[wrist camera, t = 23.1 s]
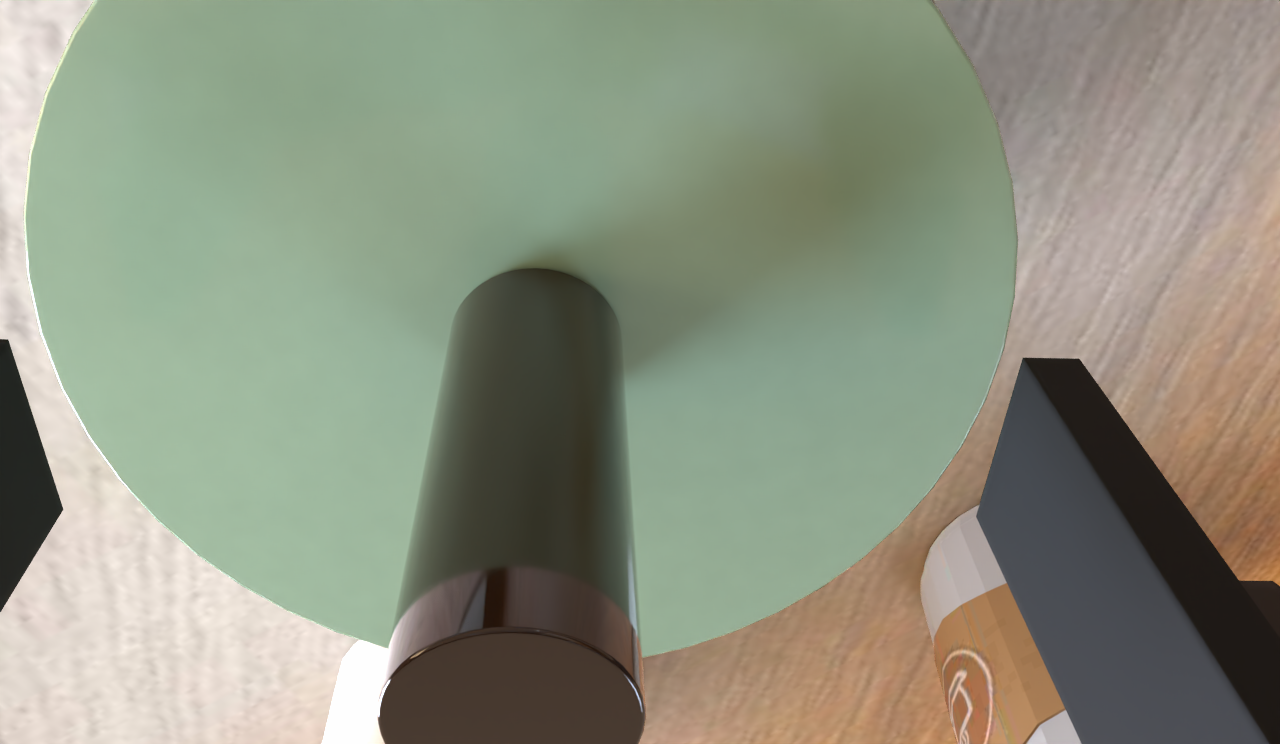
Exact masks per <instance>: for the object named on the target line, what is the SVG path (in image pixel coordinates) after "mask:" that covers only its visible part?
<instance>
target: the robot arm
mask: <svg viewBox="0 0 1280 744" xmlns="http://www.w3.org/2000/svg"><path fill="white" fill-rule="evenodd" d="M62 511H63V507H62V504H61V501H60V498H59V495H58V492H57V489H56V486H55V483H54V479H53V476H52V473H51V470H50V467H49V464H48V461H47V458H46V455H45V452H44V449H43V446H42V442H41V439H40V436H39V433H38V430H37V427H36V424H35V421H34V418H33V415H32V412H31V409H30V406H29V402H28V399H27V396H26V393H25V390H24V387H23V384H22V381H21V378H20V375H19V372H18V369H17V366H16V362H15V359H14V356H13V353H12V350H11V347H10V344H9V341H8V340H5V339H0V612H1V610H2V609H3V607H4V605H5V604H6V602H7V601H8V599H9V597H10V596H11V594H12V592H13V591H14V589H15V587H16V586H17V584H18V583H19V581H20V579H21V578H22V576H23V574H24V573H25V571H26V570H27V568H28V566H29V565H30V563H31V561H32V560H33V558H34V556H35V555H36V553H37V552H38V550H39V548H40V547H41V545H42V543H43V542H44V540H45V538H46V537H47V535H48V534H49V532H50V530H51V529H52V527H53V525H54V524H55V522H56V520H57V519H58V517H59V516H60V514H61V512H62ZM976 518H977V520H978V522H979V524H980V526H981V528H982V531H983V533H984V535H985V537H986V539H987V541H988V544H989V546H990V548H991V550H992V552H993V554H994V556H995V559H996V561H997V563H998V565H999V567H1000V569H1001V572H1002V574H1003V576H1004V578H1005V580H1006V582H1007V584H1008V587H1009V589H1010V591H1011V593H1012V595H1013V597H1014V599H1015V602H1016V604H1017V606H1018V608H1019V610H1020V612H1021V615H1022V617H1023V619H1024V621H1025V623H1026V625H1027V627H1028V630H1029V632H1030V634H1031V636H1032V638H1033V640H1034V643H1035V645H1036V647H1037V649H1038V651H1039V653H1040V655H1041V658H1042V660H1043V662H1044V664H1045V666H1046V668H1047V670H1048V673H1049V675H1050V677H1051V679H1052V681H1053V683H1054V686H1055V688H1056V690H1057V692H1058V694H1059V696H1060V698H1061V701H1062V703H1063V705H1064V707H1065V709H1066V711H1067V713H1068V716H1069V718H1070V720H1071V722H1072V724H1073V726H1074V729H1075V731H1076V733H1077V735H1078V737H1079V739H1080V741H1081V744H1280V586H1279V585H1277V584H1276V583H1275V582H1273V581H1239V580H1238V579H1237V577H1236V576H1235V575H1234V573H1233V572H1232V570H1231V569H1230V568H1229V566H1228V565H1227V563H1226V562H1225V561H1224V559H1223V558H1222V556H1221V555H1220V554H1219V552H1218V551H1217V550H1216V548H1215V547H1214V545H1213V544H1212V543H1211V541H1210V540H1209V538H1208V537H1207V536H1206V534H1205V533H1204V531H1203V530H1202V529H1201V527H1200V526H1199V525H1198V523H1197V522H1196V520H1195V519H1194V518H1193V516H1192V515H1191V513H1190V512H1189V511H1188V509H1187V508H1186V506H1185V505H1184V504H1183V502H1182V501H1181V499H1180V498H1179V497H1178V495H1177V494H1176V493H1175V491H1174V490H1173V488H1172V487H1171V486H1170V484H1169V483H1168V481H1167V480H1166V479H1165V477H1164V476H1163V474H1162V473H1161V472H1160V470H1159V469H1158V468H1157V466H1156V465H1155V463H1154V462H1153V461H1152V459H1151V458H1150V456H1149V455H1148V454H1147V452H1146V451H1145V449H1144V448H1143V447H1142V445H1141V444H1140V442H1139V441H1138V440H1137V438H1136V437H1135V436H1134V434H1133V433H1132V431H1131V430H1130V429H1129V427H1128V426H1127V424H1126V423H1125V422H1124V420H1123V419H1122V417H1121V416H1120V415H1119V413H1118V412H1117V411H1116V409H1115V408H1114V406H1113V405H1112V404H1111V402H1110V401H1109V399H1108V398H1107V397H1106V395H1105V394H1104V392H1103V391H1102V390H1101V388H1100V387H1099V386H1098V384H1097V383H1096V381H1095V380H1094V379H1093V377H1092V376H1091V374H1090V373H1089V372H1088V370H1087V369H1086V367H1085V366H1084V365H1083V363H1082V362H1081V360H1080V359H1058V358H1023V360H1022V363H1021V366H1020V370H1019V373H1018V376H1017V380H1016V383H1015V386H1014V390H1013V393H1012V397H1011V400H1010V403H1009V407H1008V410H1007V413H1006V417H1005V420H1004V424H1003V427H1002V430H1001V434H1000V437H999V440H998V444H997V447H996V451H995V454H994V457H993V461H992V464H991V467H990V471H989V474H988V477H987V481H986V484H985V488H984V491H983V494H982V498H981V501H980V504H979V508H978V511H977V515H976Z"/></svg>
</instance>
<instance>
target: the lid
mask: <svg viewBox="0 0 1280 744" xmlns="http://www.w3.org/2000/svg"><path fill="white" fill-rule="evenodd" d="M23 216H24V231H25V246H26V261H27V276H28V280H29V285H30V289H31V294H32V298H33V303H34V307H35V312H36V316H37V321H38V325H39V330H40V334H41V336H42V339H43V341H44V344H45V347H46V349H47V352H48V355H49V357H50V360H51V362H52V365H53V368H54V370H55V373H56V375H57V378H58V381H59V383H60V386H61V388H62V390H63V392H64V393H65V395H66V397H67V399H68V401H69V403H70V404H71V406H72V408H73V410H74V412H75V413H76V415H77V417H78V419H79V421H80V423H81V424H82V426H83V428H84V430H85V432H86V434H87V435H88V437H89V438H90V440H91V441H92V442H93V444H94V445H95V446H96V448H97V449H98V451H99V452H100V453H101V455H102V456H103V458H104V459H105V460H106V462H107V463H108V464H109V466H110V467H111V469H112V470H113V471H114V473H115V474H116V475H117V477H118V478H119V480H120V481H121V482H122V483H123V484H124V485H125V486H126V487H127V488H128V489H129V491H130V492H131V493H132V494H133V495H134V496H135V497H136V498H137V499H138V500H139V501H140V502H141V503H142V505H143V506H144V507H145V508H146V509H147V510H148V511H149V512H150V513H151V514H152V515H153V516H154V517H155V519H156V520H157V521H158V522H160V523H161V524H162V525H163V526H164V527H165V528H167V529H168V530H169V531H170V532H171V533H172V534H174V535H175V536H176V537H177V538H178V539H179V540H181V541H182V542H183V543H184V544H185V545H186V546H188V547H189V548H190V549H191V550H192V551H193V552H194V553H196V554H197V555H198V556H199V557H201V558H202V559H204V560H205V561H207V562H208V563H209V564H211V565H212V566H214V567H215V568H217V569H218V570H220V571H221V572H223V573H224V574H225V575H227V576H228V577H230V578H231V579H233V580H234V581H236V582H237V583H238V584H240V585H241V586H243V587H245V588H247V589H248V590H250V591H252V592H254V593H256V594H257V595H259V596H261V597H263V598H265V599H267V600H268V601H270V602H272V603H274V604H276V605H277V606H279V607H281V608H283V609H285V610H287V611H288V612H291V613H293V614H295V615H298V616H300V617H302V618H305V619H307V620H309V621H312V622H314V623H316V624H319V625H321V626H323V627H326V628H328V629H330V630H333V631H335V632H337V633H340V634H344V635H347V636H350V637H353V638H356V639H359V640H362V641H365V642H368V643H371V644H375V645H378V646H381V647H384V648H387V649H388V654H387V659H386V665H385V670H384V675H383V680H382V685H381V690H380V695H379V701H378V707H377V721H378V725H379V730H380V733H381V736H382V738H383V741H384V743H385V744H638V743H639V741H640V738H641V736H642V733H643V731H644V726H645V720H646V707H645V691H644V676H643V660H642V658H644V657H649V656H653V655H657V654H662V653H666V652H670V651H675V650H679V649H683V648H687V647H690V646H693V645H696V644H699V643H702V642H705V641H708V640H711V639H714V638H717V637H720V636H723V635H726V634H729V633H732V632H735V631H737V630H739V629H742V628H744V627H746V626H748V625H751V624H753V623H755V622H757V621H760V620H762V619H764V618H766V617H769V616H771V615H773V614H775V613H778V612H780V611H781V610H783V609H785V608H787V607H788V606H790V605H792V604H794V603H796V602H797V601H799V600H801V599H803V598H804V597H806V596H808V595H810V594H811V593H813V592H815V591H817V590H818V589H820V588H822V587H823V586H825V585H826V584H828V583H829V582H830V581H832V580H833V579H835V578H836V577H837V576H839V575H840V574H842V573H843V572H844V571H846V570H847V569H849V568H850V567H851V566H853V565H854V564H856V563H857V562H858V561H860V560H861V559H863V558H864V557H865V556H866V555H867V554H868V553H869V552H870V551H871V550H873V549H874V548H875V547H876V546H877V545H878V544H879V543H880V542H882V541H883V540H884V539H885V538H886V537H887V536H888V535H889V534H891V533H892V532H893V531H894V530H895V529H896V528H897V527H898V526H899V525H900V524H901V523H902V522H903V521H904V520H905V519H906V518H907V516H908V515H909V514H910V513H911V512H912V511H913V510H914V509H915V507H916V506H917V505H918V504H919V503H920V502H921V501H922V500H923V499H924V497H925V496H926V495H927V494H928V493H929V492H930V491H931V490H932V488H933V487H934V486H935V484H936V483H937V481H938V480H939V478H940V477H941V476H942V474H943V473H944V471H945V470H946V468H947V467H948V465H949V464H950V463H951V461H952V460H953V458H954V457H955V455H956V454H957V452H958V451H959V450H960V448H961V447H962V445H963V443H964V441H965V439H966V437H967V435H968V433H969V432H970V430H971V428H972V426H973V424H974V422H975V420H976V418H977V416H978V414H979V412H980V410H981V408H982V406H983V405H984V403H985V401H986V398H987V395H988V393H989V390H990V387H991V384H992V381H993V379H994V376H995V373H996V370H997V367H998V365H999V362H1000V359H1001V356H1002V353H1003V351H1004V346H1005V341H1006V336H1007V331H1008V327H1009V322H1010V317H1011V312H1012V307H1013V302H1014V298H1015V283H1016V266H1017V248H1018V235H1017V224H1016V213H1015V203H1014V192H1013V182H1012V178H1011V174H1010V170H1009V166H1008V162H1007V158H1006V154H1005V150H1004V146H1003V142H1002V138H1001V134H1000V130H999V126H998V122H997V120H996V118H995V115H994V113H993V111H992V108H991V106H990V103H989V101H988V99H987V96H986V94H985V92H984V89H983V87H982V85H981V82H980V80H979V77H978V75H977V73H976V70H975V68H974V66H973V64H972V62H971V60H970V59H969V57H968V56H967V54H966V52H965V51H964V49H963V47H962V46H961V44H960V43H959V41H958V39H957V38H956V36H955V35H954V33H953V31H952V30H951V28H950V26H949V25H948V23H947V22H946V20H945V18H944V17H943V15H942V14H941V12H940V10H939V9H938V7H937V6H936V5H935V4H934V3H933V1H932V0H94V1H93V3H92V4H91V6H90V7H89V9H88V10H87V12H86V13H85V15H84V16H83V18H82V19H81V21H80V22H79V23H78V25H77V26H76V28H75V29H74V31H73V33H72V35H71V37H70V39H69V41H68V44H67V46H66V48H65V50H64V52H63V55H62V57H61V59H60V61H59V63H58V66H57V68H56V70H55V72H54V74H53V77H52V79H51V81H50V83H49V85H48V87H47V90H46V92H45V96H44V99H43V103H42V107H41V111H40V115H39V118H38V122H37V126H36V130H35V133H34V137H33V141H32V145H31V149H30V152H29V161H28V172H27V182H26V193H25V204H24V215H23Z"/></svg>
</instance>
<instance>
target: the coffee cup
mask: <svg viewBox="0 0 1280 744" xmlns="http://www.w3.org/2000/svg"><path fill="white" fill-rule="evenodd" d="M978 508H979V505H978V506H976V507H974V508H972V509H971V510H969V511H967V512H965V513H964V514H962V515H960V516H959V517H957V518H956V519H955V520H954V521H953V522H952V523H951V524H950V525H948V526H947V527H946V528H945V529H944V530H943V531H942V532H941V533H940V535H939V536H938V538H937V539H936V540H935V542H934V543H933V545H932V546H931V547H930V550H929V553H928V556H927V559H926V561H925V564H924V571H923V574H922V577H921V601H922V605H923V609H924V612H925V616H926V620H927V623H928V627H929V631H930V634H931V638H932V642H933V645H934V655H935V663H936V667H937V671H938V674H939V678H940V682H941V686H942V689H943V693H944V697H945V701H946V704H947V708H948V712H949V715H950V719H951V723H952V727H953V730H954V734H955V738H956V742H957V744H1081V741H1080V739H1079V737H1078V735H1077V733H1076V731H1075V729H1074V726H1073V724H1072V722H1071V720H1070V718H1069V716H1068V713H1067V711H1066V709H1065V707H1064V705H1063V703H1062V701H1061V698H1060V696H1059V694H1058V692H1057V690H1056V688H1055V686H1054V683H1053V681H1052V679H1051V677H1050V675H1049V673H1048V670H1047V668H1046V666H1045V664H1044V662H1043V660H1042V658H1041V655H1040V653H1039V651H1038V649H1037V647H1036V645H1035V643H1034V640H1033V638H1032V636H1031V634H1030V632H1029V630H1028V627H1027V625H1026V623H1025V621H1024V619H1023V617H1022V615H1021V612H1020V610H1019V608H1018V606H1017V604H1016V602H1015V599H1014V597H1013V595H1012V593H1011V591H1010V589H1009V587H1008V584H1007V582H1006V580H1005V578H1004V576H1003V574H1002V572H1001V569H1000V567H999V565H998V563H997V561H996V559H995V556H994V554H993V552H992V550H991V548H990V546H989V544H988V541H987V539H986V537H985V535H984V533H983V531H982V528H981V526H980V524H979V522H978V520H977V518H976V515H977V511H978Z"/></svg>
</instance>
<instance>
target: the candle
mask: <svg viewBox="0 0 1280 744" xmlns="http://www.w3.org/2000/svg"><path fill="white" fill-rule="evenodd" d="M387 654H388V649H387V648H384V647H381V646H378V645H375V644H371V643H368V642H365V641H362V640H360V641H358V642H357V643H356V644H354V645H353V646H352V648H351V649H350V650H349V652H348V653H347V655H346V656H345V657H344V659H343V661H342V664H341V668H340V672H339V675H338V679H337V684H336V688H335V692H334V696H333V700H332V705H331V709H330V713H329V717H328V721H327V726H326V730H325V734H324V738H323V742H322V744H385V743H384V741H383V738H382V736H381V733H380V730H379V725H378V721H377V707H378V701H379V695H380V690H381V685H382V680H383V675H384V670H385V665H386V659H387Z"/></svg>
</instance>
